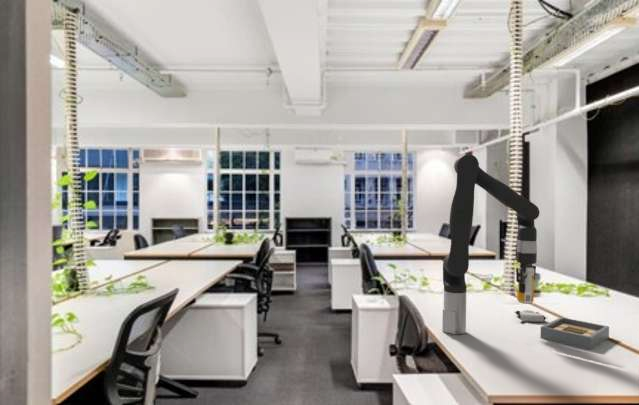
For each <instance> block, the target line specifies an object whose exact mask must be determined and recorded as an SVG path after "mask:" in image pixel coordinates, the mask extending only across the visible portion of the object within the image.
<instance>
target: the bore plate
mask: <svg viewBox="0 0 639 405" xmlns="http://www.w3.org/2000/svg"><path fill="white" fill-rule="evenodd" d="M552 329H557V330H562V331H566V332H571V333H575V334H580V335H585V336H590V335H592V334H593V333H595V332H597V331H598V330H593V329H588V328H583V327H578V326H573V325H569V324H564V323H562V324H560V325H558V326H556V327H554V328H552Z"/></svg>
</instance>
